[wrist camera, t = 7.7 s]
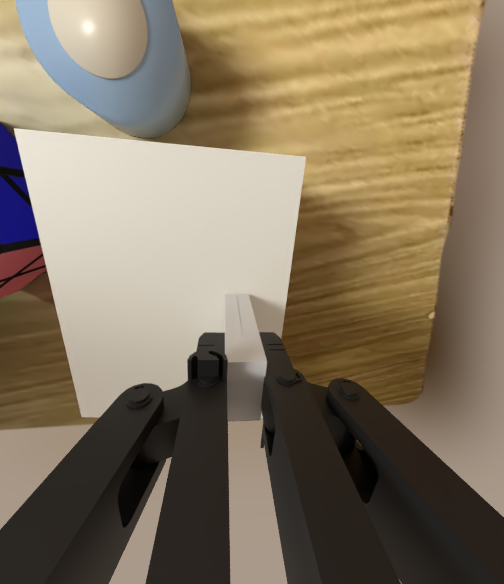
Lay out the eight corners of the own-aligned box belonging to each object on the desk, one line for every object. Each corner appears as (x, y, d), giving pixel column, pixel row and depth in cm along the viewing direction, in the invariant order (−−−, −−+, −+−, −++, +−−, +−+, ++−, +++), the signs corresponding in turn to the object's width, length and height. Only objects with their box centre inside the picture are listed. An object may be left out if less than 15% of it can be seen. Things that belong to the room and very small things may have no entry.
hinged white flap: (88, 408, 18) (81, 417, 17) (28, 133, 12) (13, 128, 11) (269, 410, 19) (270, 419, 18) (301, 159, 13) (306, 156, 12)
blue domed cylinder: (88, 132, 18) (33, 102, 13) (68, -8, 16) (-12, -117, 10) (191, 143, 19) (179, 120, 14) (190, 15, 17) (174, -74, 11)
